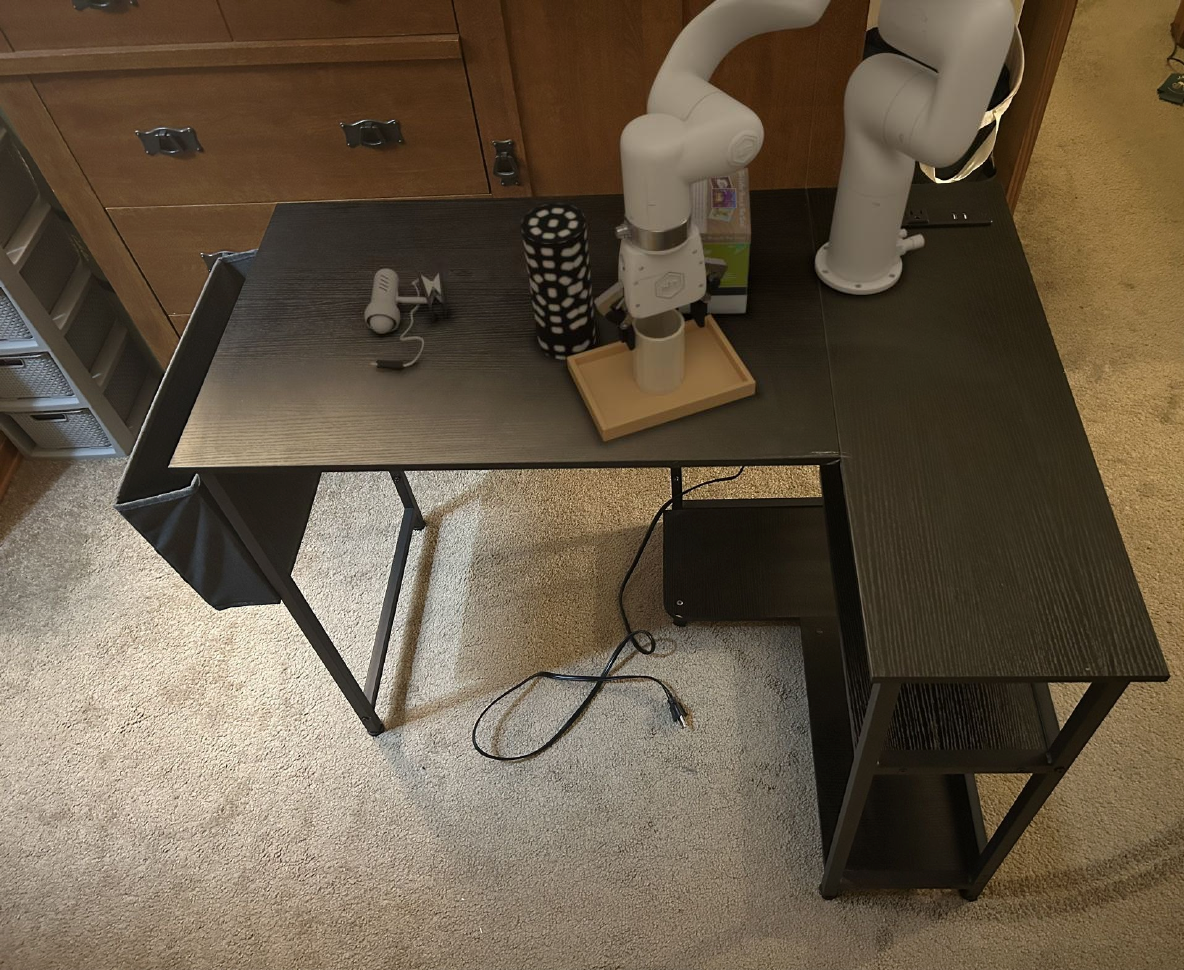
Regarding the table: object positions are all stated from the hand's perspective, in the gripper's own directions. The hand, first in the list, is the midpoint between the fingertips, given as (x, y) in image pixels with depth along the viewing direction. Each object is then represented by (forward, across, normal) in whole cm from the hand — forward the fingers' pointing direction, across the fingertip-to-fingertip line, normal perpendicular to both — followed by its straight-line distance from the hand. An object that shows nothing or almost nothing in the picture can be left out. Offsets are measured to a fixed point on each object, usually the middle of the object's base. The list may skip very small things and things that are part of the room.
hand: (663, 332), depth 120 cm
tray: (+9, -1, 0) cm, 9 cm away
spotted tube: (+9, -10, +13) cm, 18 cm away
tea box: (+9, +14, +16) cm, 23 cm away
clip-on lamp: (+8, -31, +24) cm, 40 cm away
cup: (+8, -1, 0) cm, 8 cm away
